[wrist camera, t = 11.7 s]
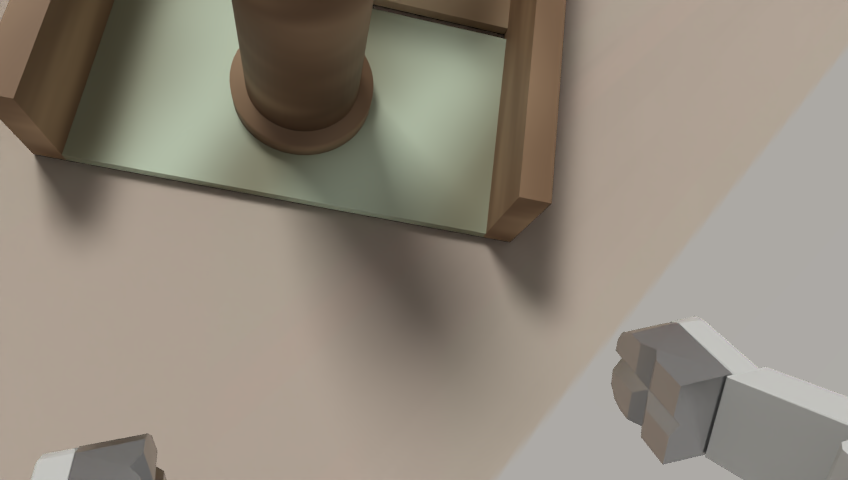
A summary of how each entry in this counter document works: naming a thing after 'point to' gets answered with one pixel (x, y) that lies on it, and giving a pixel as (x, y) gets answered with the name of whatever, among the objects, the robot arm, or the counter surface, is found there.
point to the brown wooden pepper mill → (302, 72)
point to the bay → (288, 173)
